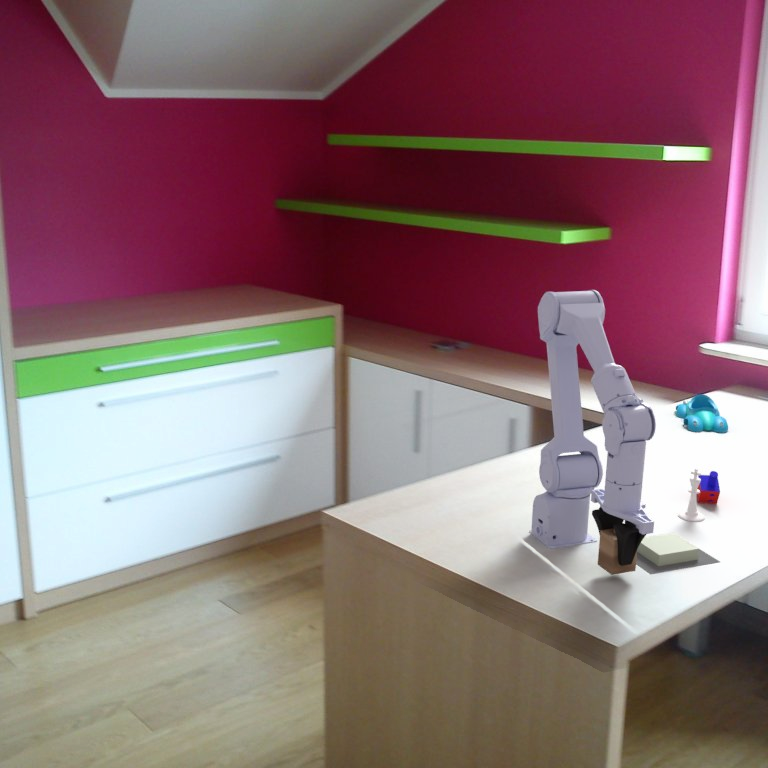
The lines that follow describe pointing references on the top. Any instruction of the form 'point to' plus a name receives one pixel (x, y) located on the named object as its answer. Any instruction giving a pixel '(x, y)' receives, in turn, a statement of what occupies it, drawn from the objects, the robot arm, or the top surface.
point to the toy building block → (708, 488)
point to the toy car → (701, 415)
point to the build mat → (653, 568)
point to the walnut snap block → (612, 554)
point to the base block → (667, 549)
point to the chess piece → (693, 501)
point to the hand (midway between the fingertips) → (617, 558)
